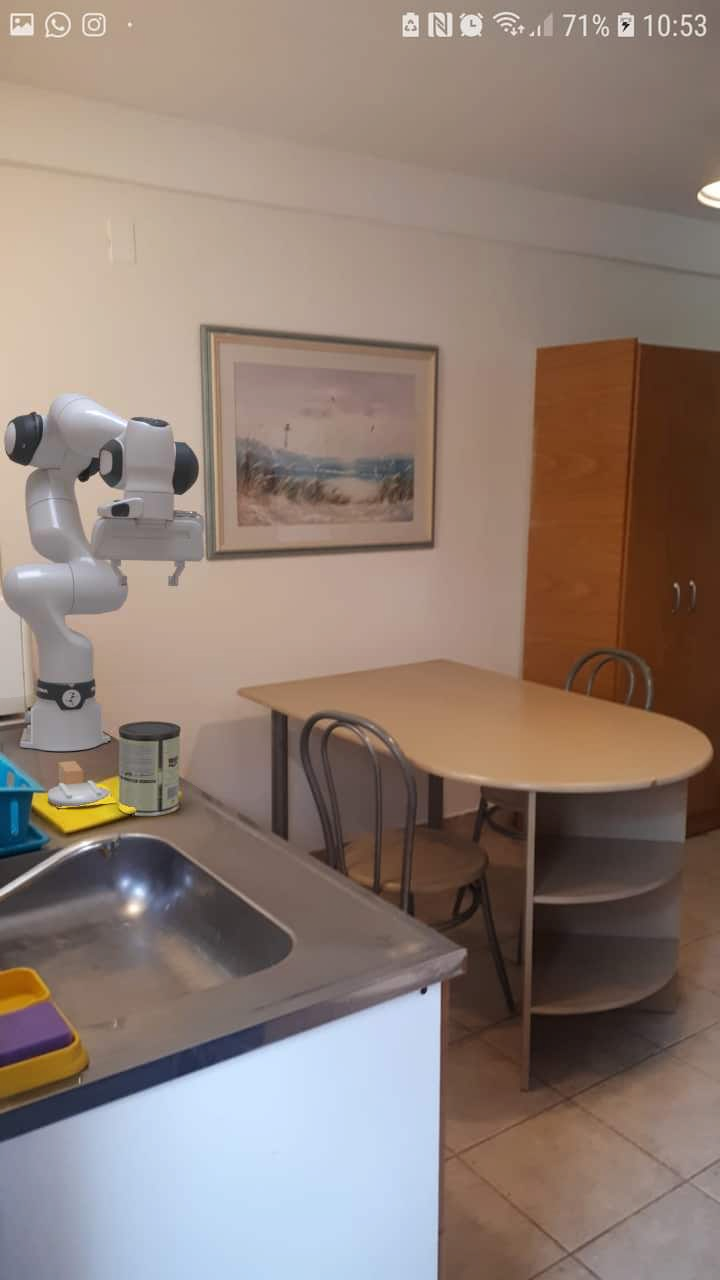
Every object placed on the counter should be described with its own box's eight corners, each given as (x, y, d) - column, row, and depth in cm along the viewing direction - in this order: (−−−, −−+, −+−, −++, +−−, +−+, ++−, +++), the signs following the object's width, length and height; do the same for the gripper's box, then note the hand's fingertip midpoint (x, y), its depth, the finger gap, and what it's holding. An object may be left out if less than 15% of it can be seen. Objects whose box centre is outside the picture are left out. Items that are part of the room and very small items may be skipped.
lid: (37, 782, 174) (37, 763, 173) (95, 777, 179) (95, 759, 178) (53, 809, 158) (53, 789, 158) (117, 803, 163) (117, 783, 163)
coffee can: (124, 797, 168) (125, 720, 166) (183, 799, 168) (184, 722, 167) (111, 816, 158) (112, 733, 156) (173, 817, 158) (175, 735, 157)
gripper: (199, 511, 178) (197, 584, 180) (88, 506, 169) (87, 583, 170) (210, 511, 172) (208, 587, 174) (95, 506, 163) (95, 586, 165)
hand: (147, 585), depth 172 cm, fingers open, 8 cm apart
